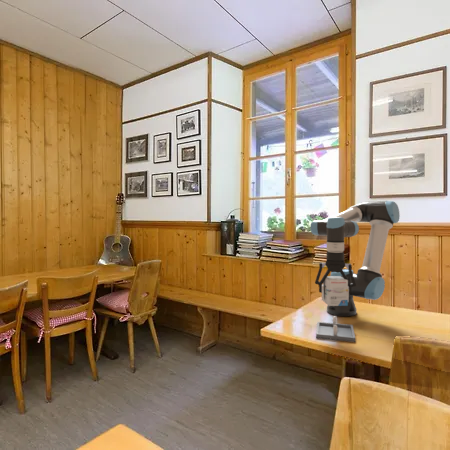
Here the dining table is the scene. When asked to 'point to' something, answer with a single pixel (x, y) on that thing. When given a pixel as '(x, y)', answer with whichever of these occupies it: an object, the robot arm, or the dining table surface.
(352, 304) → the robot arm
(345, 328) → the tray
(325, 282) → the ink box
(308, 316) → the dining table surface
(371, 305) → the dining table surface
